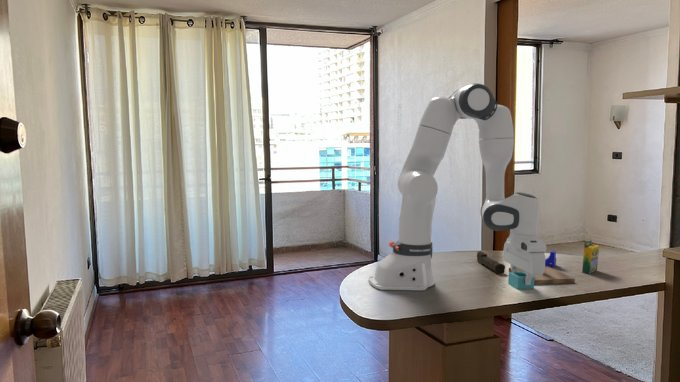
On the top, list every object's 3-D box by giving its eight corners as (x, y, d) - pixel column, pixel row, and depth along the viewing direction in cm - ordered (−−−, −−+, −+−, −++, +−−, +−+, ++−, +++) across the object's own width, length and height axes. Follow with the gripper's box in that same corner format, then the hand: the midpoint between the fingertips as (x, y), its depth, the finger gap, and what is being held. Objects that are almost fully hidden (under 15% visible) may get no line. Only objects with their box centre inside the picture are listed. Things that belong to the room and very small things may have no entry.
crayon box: (590, 274, 181) (592, 243, 180) (581, 272, 184) (583, 242, 182) (597, 270, 186) (599, 240, 185) (589, 269, 188) (591, 239, 187)
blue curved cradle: (555, 265, 194) (556, 250, 193) (553, 268, 190) (554, 252, 189) (524, 260, 200) (525, 246, 200) (521, 263, 197) (522, 248, 196)
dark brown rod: (505, 274, 180) (505, 262, 180) (494, 274, 180) (495, 262, 179) (483, 261, 199) (484, 250, 198) (474, 261, 198) (475, 250, 198)
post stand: (532, 284, 168) (534, 257, 167) (508, 271, 183) (510, 246, 182) (574, 282, 170) (576, 256, 169) (547, 270, 186) (549, 245, 185)
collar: (517, 289, 162) (518, 277, 162) (508, 283, 168) (508, 272, 168) (533, 288, 163) (534, 276, 163) (524, 283, 169) (524, 271, 169)
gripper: (499, 234, 174) (497, 272, 175) (531, 248, 154) (529, 291, 155) (515, 234, 175) (513, 272, 176) (549, 247, 155) (547, 290, 156)
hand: (521, 281), depth 166 cm, fingers closed on collar, 6 cm apart
